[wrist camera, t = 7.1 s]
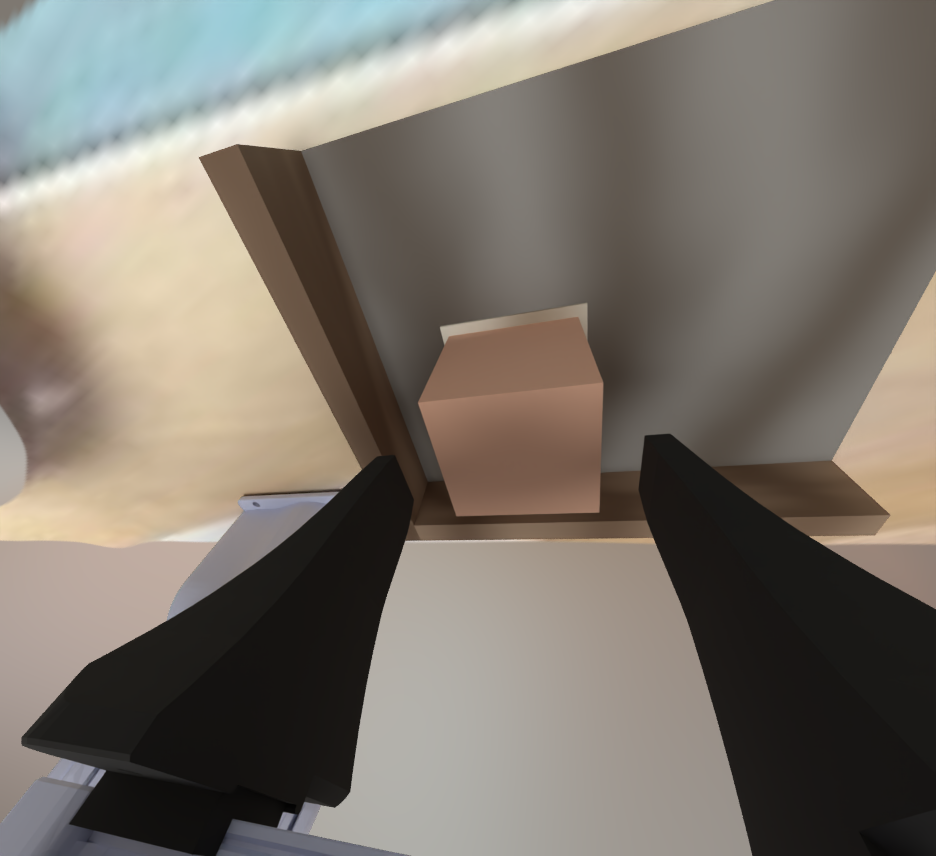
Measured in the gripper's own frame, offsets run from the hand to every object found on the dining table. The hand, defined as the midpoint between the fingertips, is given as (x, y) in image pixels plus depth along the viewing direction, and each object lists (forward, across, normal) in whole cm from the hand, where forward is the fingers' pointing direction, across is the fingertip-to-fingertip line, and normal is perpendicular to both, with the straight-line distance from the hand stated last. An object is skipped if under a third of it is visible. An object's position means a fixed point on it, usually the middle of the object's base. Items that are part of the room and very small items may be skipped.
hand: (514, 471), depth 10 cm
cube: (+6, 0, 0) cm, 6 cm away
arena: (+7, -3, -1) cm, 7 cm away
